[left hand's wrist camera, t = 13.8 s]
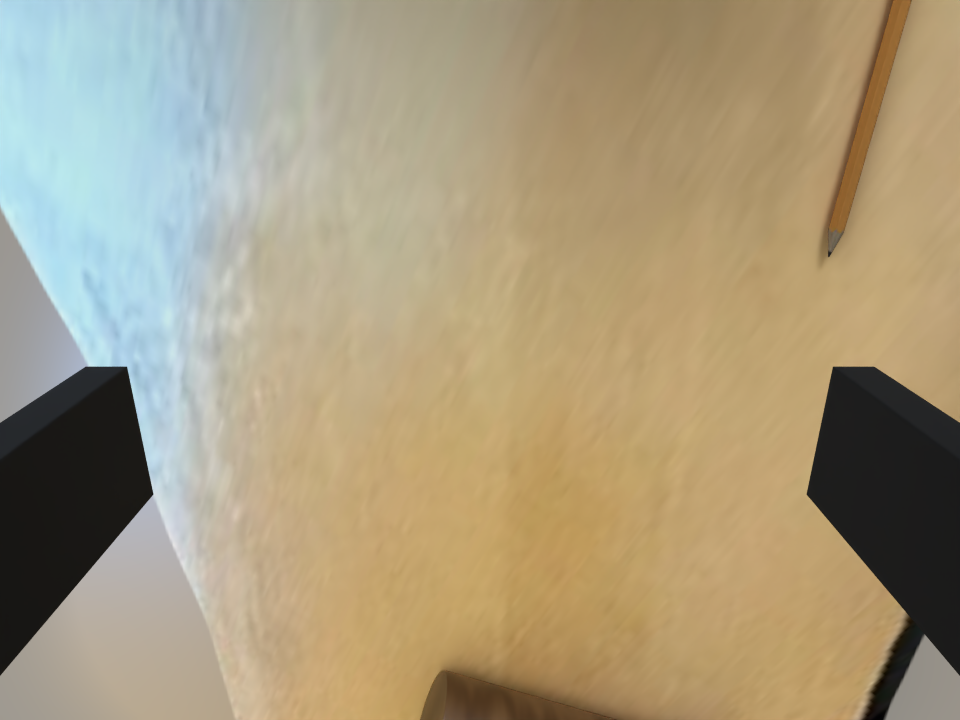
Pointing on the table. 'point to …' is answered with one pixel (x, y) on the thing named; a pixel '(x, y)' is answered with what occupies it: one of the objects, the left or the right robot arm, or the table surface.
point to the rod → (491, 702)
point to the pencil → (867, 120)
